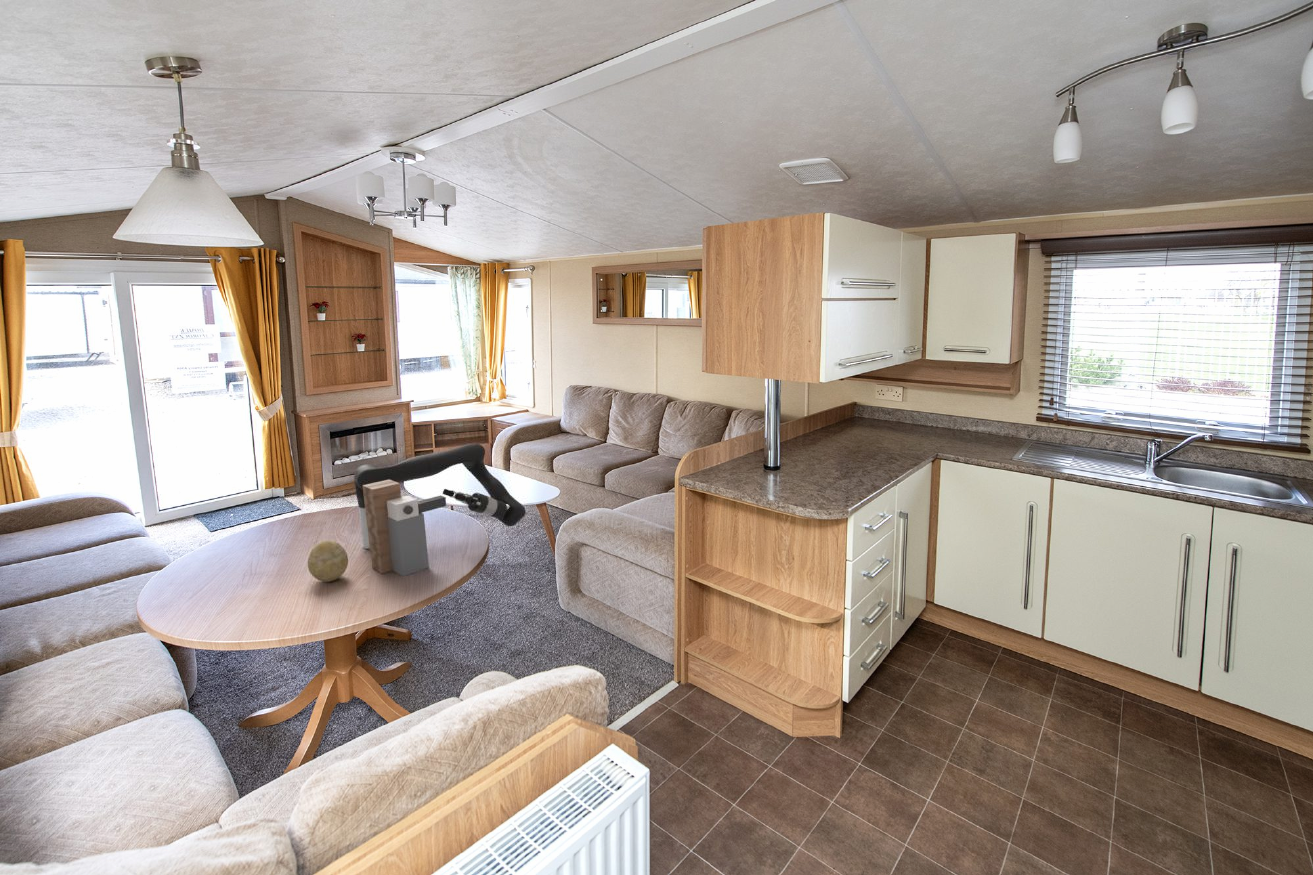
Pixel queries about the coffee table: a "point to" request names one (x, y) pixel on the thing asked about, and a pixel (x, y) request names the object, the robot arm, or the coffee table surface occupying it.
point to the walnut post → (379, 521)
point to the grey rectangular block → (408, 544)
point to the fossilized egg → (327, 561)
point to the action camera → (412, 506)
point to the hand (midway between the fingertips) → (449, 493)
